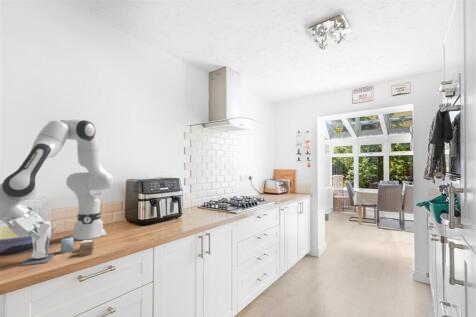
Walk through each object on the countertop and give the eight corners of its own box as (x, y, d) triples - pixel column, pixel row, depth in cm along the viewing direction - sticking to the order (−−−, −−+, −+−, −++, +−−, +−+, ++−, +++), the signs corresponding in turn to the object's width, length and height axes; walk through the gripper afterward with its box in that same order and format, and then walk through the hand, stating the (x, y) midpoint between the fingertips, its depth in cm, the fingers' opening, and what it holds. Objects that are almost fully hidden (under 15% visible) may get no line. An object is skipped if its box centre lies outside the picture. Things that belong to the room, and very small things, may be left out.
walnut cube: (81, 252, 113) (81, 242, 113) (93, 251, 115) (93, 241, 115) (79, 256, 108) (79, 245, 109) (91, 254, 110) (92, 244, 111)
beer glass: (27, 256, 103) (30, 222, 104) (47, 252, 109) (49, 220, 110) (32, 260, 99) (35, 225, 100) (52, 255, 105) (54, 222, 106)
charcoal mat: (31, 256, 108) (31, 255, 108) (55, 253, 111) (55, 252, 111) (20, 266, 97) (20, 265, 97) (47, 262, 100) (47, 261, 100)
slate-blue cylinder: (62, 250, 116) (62, 238, 116) (74, 249, 118) (74, 237, 118) (59, 253, 111) (59, 241, 112) (71, 252, 113) (72, 239, 114)
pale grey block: (83, 248, 120) (83, 240, 120) (91, 247, 121) (92, 239, 122) (79, 252, 114) (79, 243, 115) (88, 251, 116) (89, 242, 116)
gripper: (12, 214, 93) (41, 236, 97) (32, 207, 112) (56, 225, 115) (-4, 226, 91) (27, 248, 95) (20, 217, 110) (45, 235, 113)
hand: (43, 235), depth 105 cm, fingers closed on beer glass, 6 cm apart
